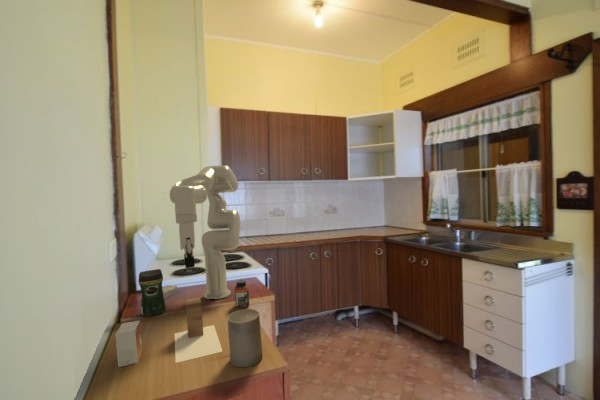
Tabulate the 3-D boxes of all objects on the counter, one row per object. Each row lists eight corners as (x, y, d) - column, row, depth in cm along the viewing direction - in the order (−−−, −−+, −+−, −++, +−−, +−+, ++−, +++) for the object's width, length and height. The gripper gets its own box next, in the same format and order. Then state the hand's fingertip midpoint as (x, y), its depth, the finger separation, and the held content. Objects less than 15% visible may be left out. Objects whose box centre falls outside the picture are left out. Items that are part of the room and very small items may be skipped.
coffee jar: (165, 307, 141) (162, 266, 140) (166, 313, 134) (163, 270, 133) (141, 312, 137) (138, 270, 136) (140, 318, 130) (137, 274, 129)
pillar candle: (256, 347, 103) (252, 302, 102) (267, 361, 95) (263, 312, 94) (226, 356, 99) (222, 309, 98) (235, 372, 90) (231, 321, 89)
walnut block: (187, 332, 115) (185, 300, 114) (202, 329, 117) (199, 297, 116) (188, 338, 110) (186, 304, 110) (203, 335, 112) (201, 302, 112)
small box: (138, 363, 97) (135, 330, 96) (117, 367, 95) (114, 333, 94) (143, 350, 104) (140, 319, 104) (124, 354, 103) (121, 322, 102)
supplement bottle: (238, 303, 142) (237, 278, 141) (251, 303, 141) (249, 278, 140) (233, 308, 136) (231, 283, 135) (246, 309, 135) (244, 283, 134)
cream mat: (174, 334, 115) (174, 333, 115) (214, 326, 120) (214, 325, 120) (175, 364, 95) (175, 362, 95) (222, 352, 101) (222, 351, 101)
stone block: (148, 303, 153) (166, 299, 151) (146, 293, 153) (163, 289, 151) (163, 295, 165) (180, 291, 163) (161, 286, 165) (178, 282, 163)
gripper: (175, 217, 126) (178, 262, 127) (176, 221, 110) (179, 272, 111) (195, 215, 129) (198, 259, 130) (198, 219, 113) (201, 269, 114)
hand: (189, 265), depth 121 cm, fingers open, 5 cm apart
